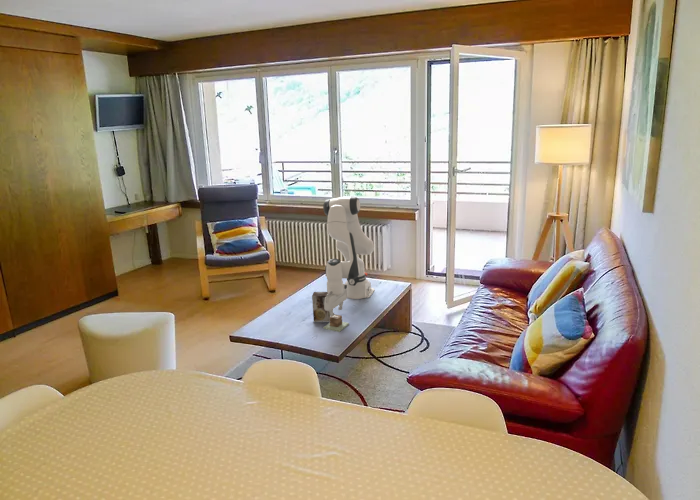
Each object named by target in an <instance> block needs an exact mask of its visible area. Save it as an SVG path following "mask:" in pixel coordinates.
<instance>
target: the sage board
mask: <svg viewBox="0 0 700 500" xmlns="http://www.w3.org/2000/svg"><path fill="white" fill-rule="evenodd" d="M349 325H350V322H347V321H342V324H341V325H340V326H339V327H333V326H330V322H327V324H326V325H324V326H323V330H326V331H333V332H337V333H339V332H341V331H343V330H344V329H345V328H347V327H348V326H349Z"/></svg>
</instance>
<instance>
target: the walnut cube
mask: <svg viewBox="0 0 700 500" xmlns="http://www.w3.org/2000/svg"><path fill="white" fill-rule="evenodd" d="M342 322H343V316H342V315H340V314H335V313H334V316H330V321H329V323H330V326H333V327H339V326H340V325H341V324H342Z"/></svg>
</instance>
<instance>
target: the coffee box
mask: <svg viewBox="0 0 700 500" xmlns="http://www.w3.org/2000/svg"><path fill="white" fill-rule="evenodd" d="M327 294H328V293H327V291H313V293H312V295H311V301H312V316H313V322H314V323H330V317H331V316H330V312H329V311H326V310H325V309H324V300H325V297H326V296H327Z"/></svg>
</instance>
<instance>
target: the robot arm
mask: <svg viewBox="0 0 700 500" xmlns="http://www.w3.org/2000/svg"><path fill="white" fill-rule="evenodd" d="M322 208H323V213H324V215H326V217H327V220H326V221H327V223H326V225H327V227H326V228H327V234H328V236H330V238H331V239H333V240H335V241H336V244H335V245H336V249H337V250H338V252H340V253H341V255H342V256H343V258H344V260H340V259H338V258H330V259H328V260H327V261H326V265H325V268H324V272H325V277H326V292H327V293H328V294H327V296H326V297H325V300H324V309H325V310H326V311H329V312H330V317H331V316H334V314H335V312H334V309H336V307H338V308H337V309H338V311H342V310H343V307H344V306H343V305H344V302H345V301H346V300H347V298H348V299H353V300H359V299H360V300H361V299H367V298H370V297H371V296H372V294H374V292H375V288H374V287H372V284H371V282H370V280H368V279H367V278H366V277H367V276H368V272H365V262H364V261H363V259H362V258H360V257H359V255H361V256H367V255H371V254H372V253H374V250H375V243H374V241H373V239H371V238H369V237H368V235H366V234H365V232H364V231H363V230H362V227H361V224H360V221H359V217H358V214H359V213H360V210H361V202H360V199H359V198H358V197H357V196H340V197H335V198H328V199H326V200H324V202H323V205H322ZM343 279H346V281H345V283H344V282H343V281H344V280H343Z"/></svg>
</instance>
